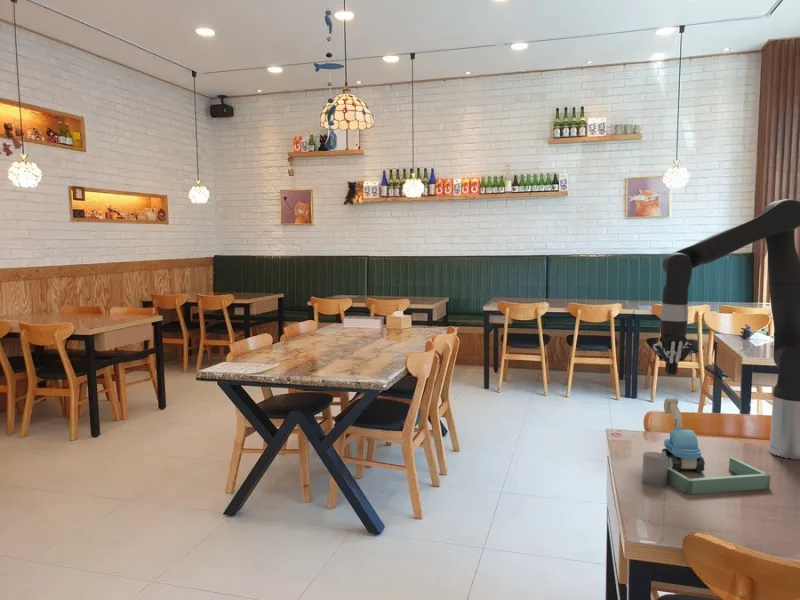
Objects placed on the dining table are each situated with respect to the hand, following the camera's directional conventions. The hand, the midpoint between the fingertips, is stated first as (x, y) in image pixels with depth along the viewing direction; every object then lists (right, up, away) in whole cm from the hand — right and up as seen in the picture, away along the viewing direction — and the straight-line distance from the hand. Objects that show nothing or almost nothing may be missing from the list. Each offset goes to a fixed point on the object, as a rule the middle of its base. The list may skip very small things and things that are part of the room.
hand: (671, 374), depth 181 cm
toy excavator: (-4, -24, -14) cm, 28 cm away
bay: (-2, -25, -27) cm, 36 cm away
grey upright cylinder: (-17, -25, -27) cm, 41 cm away
